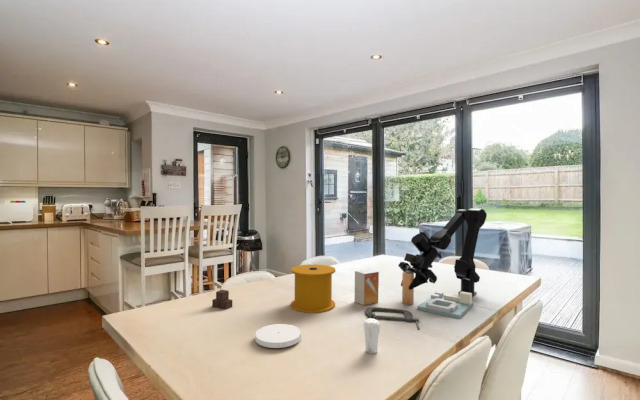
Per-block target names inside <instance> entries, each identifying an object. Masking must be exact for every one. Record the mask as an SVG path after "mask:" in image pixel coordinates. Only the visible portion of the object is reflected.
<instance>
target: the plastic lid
mask: <svg viewBox="0 0 640 400" xmlns="http://www.w3.org/2000/svg"><path fill="white" fill-rule="evenodd" d="M254 340H255V343H257V345H260V346H261V347H265V348H270V349H280V348H287V347H292V346H294V345H296V344H297V343H299V342H300V341H301V340H302V330H301V329H300V327H298V326H295V325H291V324H285V323H276V324H268V325H265V326H262V327H260V328H258V329H257V330H256V331H255V335H254Z"/></svg>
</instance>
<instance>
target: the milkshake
mask: <svg viewBox="0 0 640 400" xmlns="http://www.w3.org/2000/svg"><path fill="white" fill-rule="evenodd" d="M361 319H363V318H362V316H361ZM380 327H381V324H380V322H379V319H377V318H376V319H373V318H371V317H369V318H367V319H365V320H363V330H364V344H365V345H364V347H365V353H367V354H371V355H375V354H377V353H378V344H379V335H380Z"/></svg>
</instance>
